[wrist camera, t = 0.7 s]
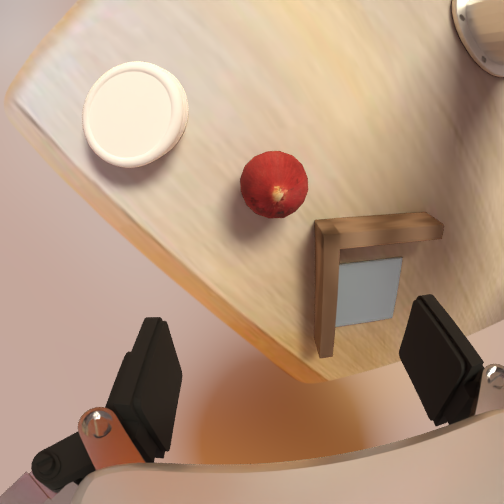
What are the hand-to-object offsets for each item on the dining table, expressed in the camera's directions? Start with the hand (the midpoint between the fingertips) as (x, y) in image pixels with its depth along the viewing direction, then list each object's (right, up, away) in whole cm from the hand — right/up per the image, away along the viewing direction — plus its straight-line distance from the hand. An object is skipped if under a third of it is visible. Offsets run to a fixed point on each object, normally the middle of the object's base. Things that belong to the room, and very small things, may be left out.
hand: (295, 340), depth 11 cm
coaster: (-12, +17, +16) cm, 26 cm away
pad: (+12, -2, +25) cm, 28 cm away
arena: (+12, 0, +24) cm, 27 cm away
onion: (0, +11, +19) cm, 21 cm away
